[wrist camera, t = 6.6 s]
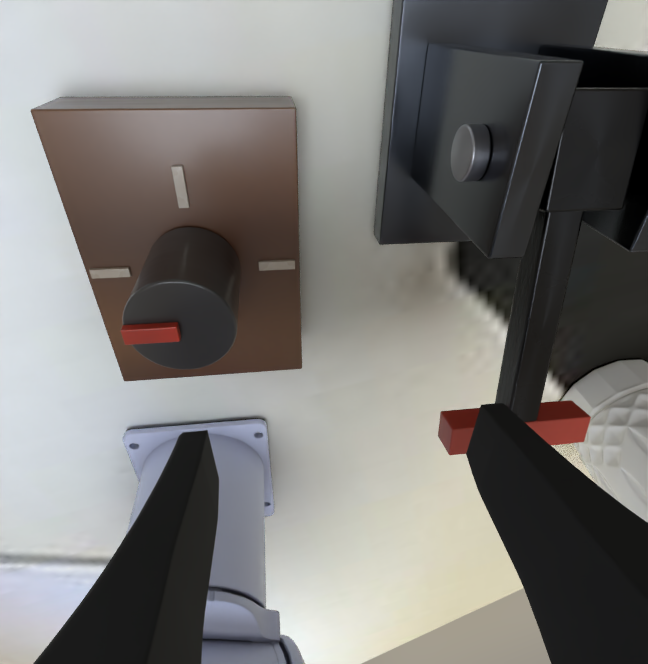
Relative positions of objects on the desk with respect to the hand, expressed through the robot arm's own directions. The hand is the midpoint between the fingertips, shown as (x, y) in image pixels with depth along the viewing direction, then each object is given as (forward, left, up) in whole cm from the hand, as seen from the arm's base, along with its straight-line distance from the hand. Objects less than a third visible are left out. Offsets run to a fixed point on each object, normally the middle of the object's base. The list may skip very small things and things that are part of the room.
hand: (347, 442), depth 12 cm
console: (+1, +5, -10) cm, 11 cm away
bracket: (+6, -6, -10) cm, 14 cm away
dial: (+1, +5, -8) cm, 9 cm away
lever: (+2, -6, -4) cm, 8 cm away
